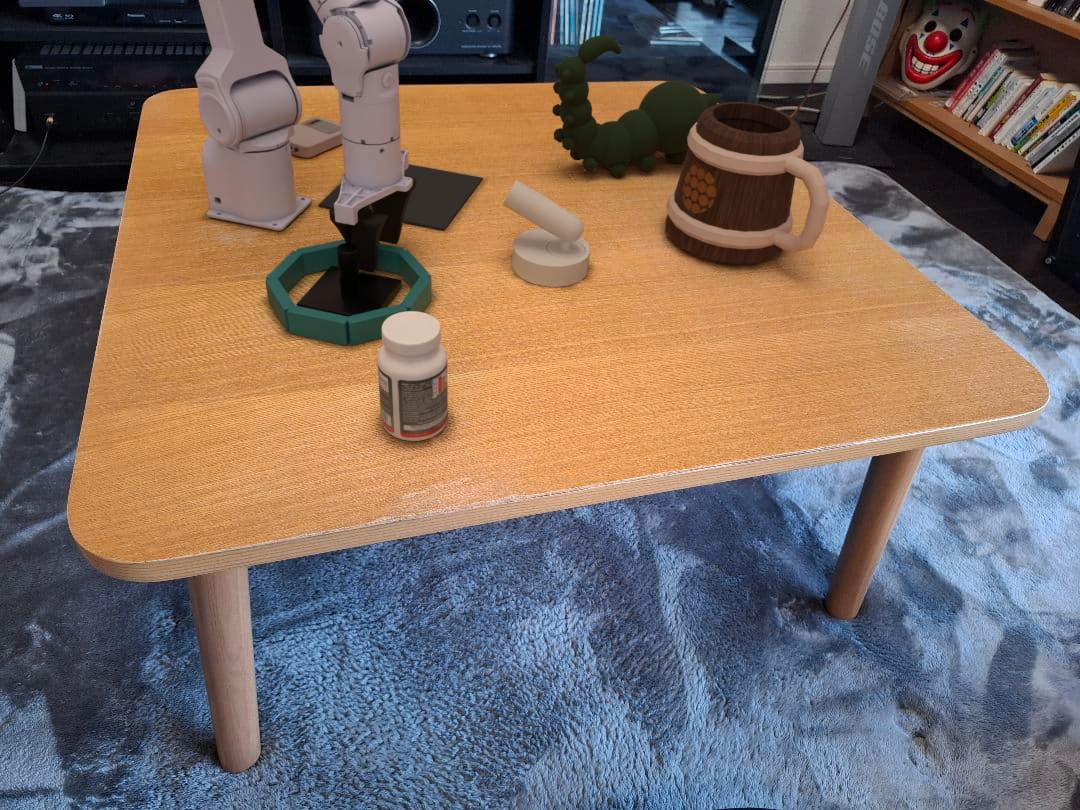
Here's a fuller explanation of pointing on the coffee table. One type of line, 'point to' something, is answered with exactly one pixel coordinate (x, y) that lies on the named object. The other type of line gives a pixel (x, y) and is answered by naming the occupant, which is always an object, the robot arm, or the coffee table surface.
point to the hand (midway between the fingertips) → (377, 255)
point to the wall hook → (547, 240)
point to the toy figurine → (624, 117)
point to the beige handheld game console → (315, 137)
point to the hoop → (333, 324)
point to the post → (350, 287)
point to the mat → (430, 196)
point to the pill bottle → (412, 376)
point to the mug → (743, 187)
